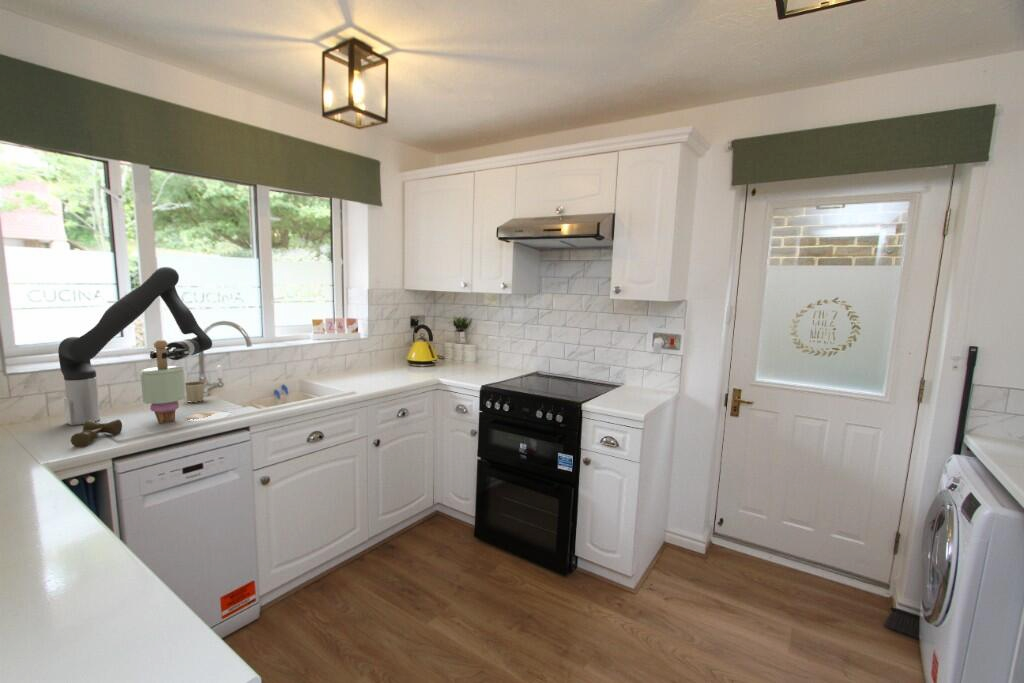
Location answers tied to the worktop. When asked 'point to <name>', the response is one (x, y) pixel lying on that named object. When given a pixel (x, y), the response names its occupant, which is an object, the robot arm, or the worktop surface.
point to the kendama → (95, 432)
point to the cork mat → (202, 415)
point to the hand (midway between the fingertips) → (157, 356)
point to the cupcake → (165, 411)
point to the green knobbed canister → (163, 379)
